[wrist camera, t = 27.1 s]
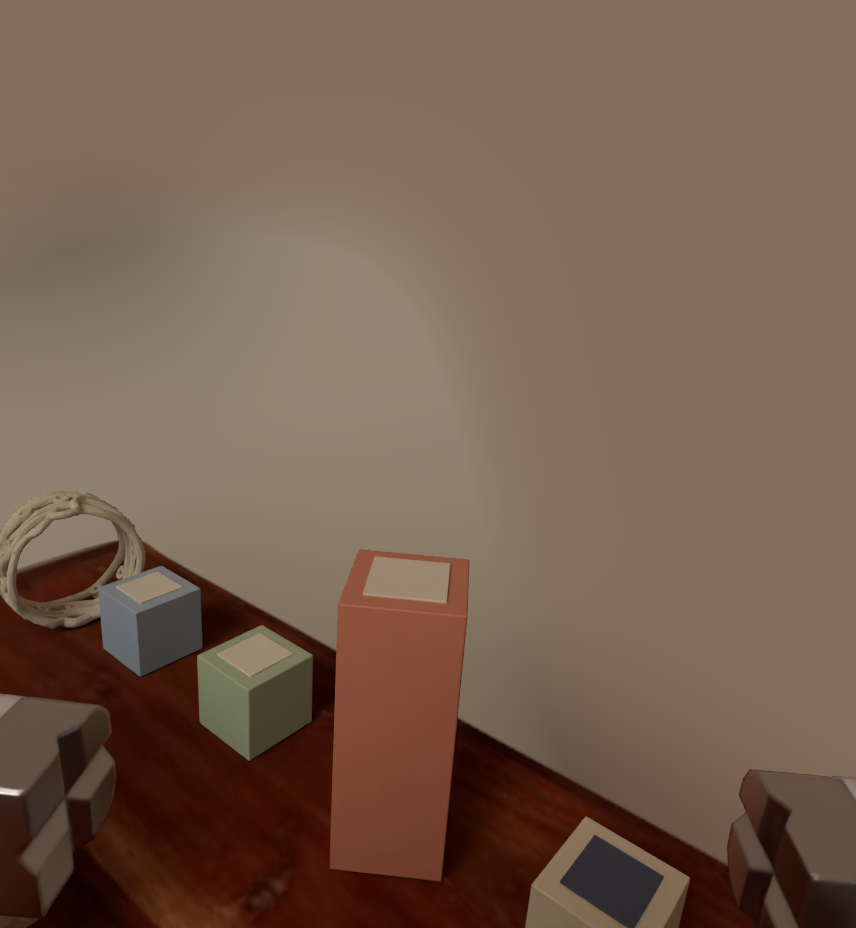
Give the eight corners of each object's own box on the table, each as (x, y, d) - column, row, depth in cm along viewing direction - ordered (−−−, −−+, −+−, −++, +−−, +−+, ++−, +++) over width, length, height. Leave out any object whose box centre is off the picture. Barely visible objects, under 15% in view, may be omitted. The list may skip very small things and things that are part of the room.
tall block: (446, 796, 32) (469, 556, 29) (441, 882, 28) (467, 613, 24) (348, 786, 33) (358, 546, 29) (329, 869, 28) (337, 601, 25)
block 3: (670, 961, 26) (691, 874, 24) (624, 1053, 23) (645, 960, 21) (571, 895, 28) (585, 813, 27) (518, 970, 25) (531, 881, 24)
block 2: (312, 721, 37) (313, 653, 35) (248, 762, 34) (248, 688, 32) (262, 688, 39) (262, 622, 38) (199, 723, 36) (196, 653, 35)
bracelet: (-6, 625, 43) (-23, 502, 40) (126, 587, 48) (118, 476, 46) (14, 655, 40) (-3, 525, 38) (152, 611, 46) (144, 495, 43)
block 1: (203, 648, 42) (200, 586, 41) (140, 677, 39) (135, 611, 38) (164, 622, 45) (161, 563, 43) (102, 648, 42) (97, 585, 40)
